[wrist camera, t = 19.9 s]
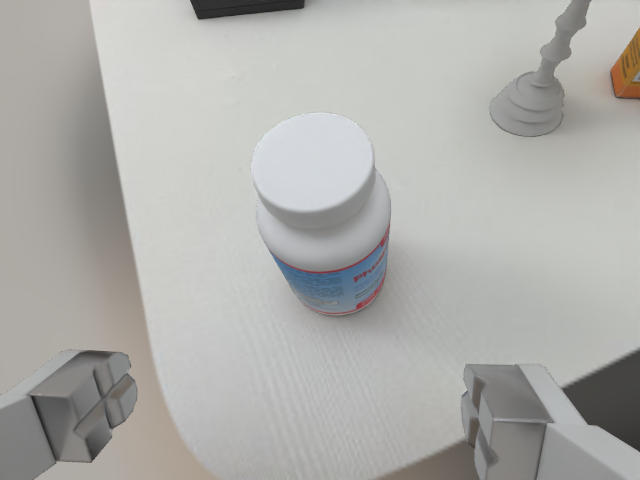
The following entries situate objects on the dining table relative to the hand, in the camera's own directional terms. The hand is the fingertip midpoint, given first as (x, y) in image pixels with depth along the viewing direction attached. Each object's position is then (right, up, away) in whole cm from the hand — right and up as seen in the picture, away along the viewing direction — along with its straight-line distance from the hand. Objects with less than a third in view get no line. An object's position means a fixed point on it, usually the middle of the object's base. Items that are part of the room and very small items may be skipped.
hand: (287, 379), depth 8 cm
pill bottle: (+2, +1, +14) cm, 15 cm away
